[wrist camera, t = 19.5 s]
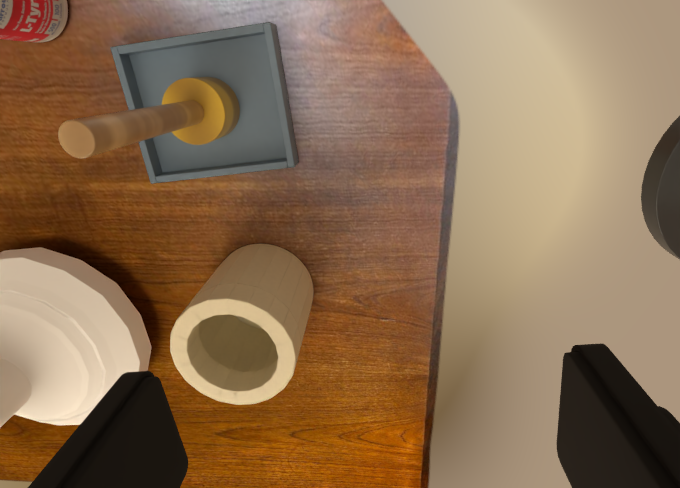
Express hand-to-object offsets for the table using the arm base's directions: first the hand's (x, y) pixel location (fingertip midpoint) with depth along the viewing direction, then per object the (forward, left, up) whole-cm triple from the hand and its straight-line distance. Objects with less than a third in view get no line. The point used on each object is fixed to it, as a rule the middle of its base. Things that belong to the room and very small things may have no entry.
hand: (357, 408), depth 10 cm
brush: (+13, -6, -30) cm, 33 cm away
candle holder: (+34, +14, -31) cm, 48 cm away
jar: (+12, +12, -30) cm, 35 cm away
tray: (+13, -6, -30) cm, 34 cm away
